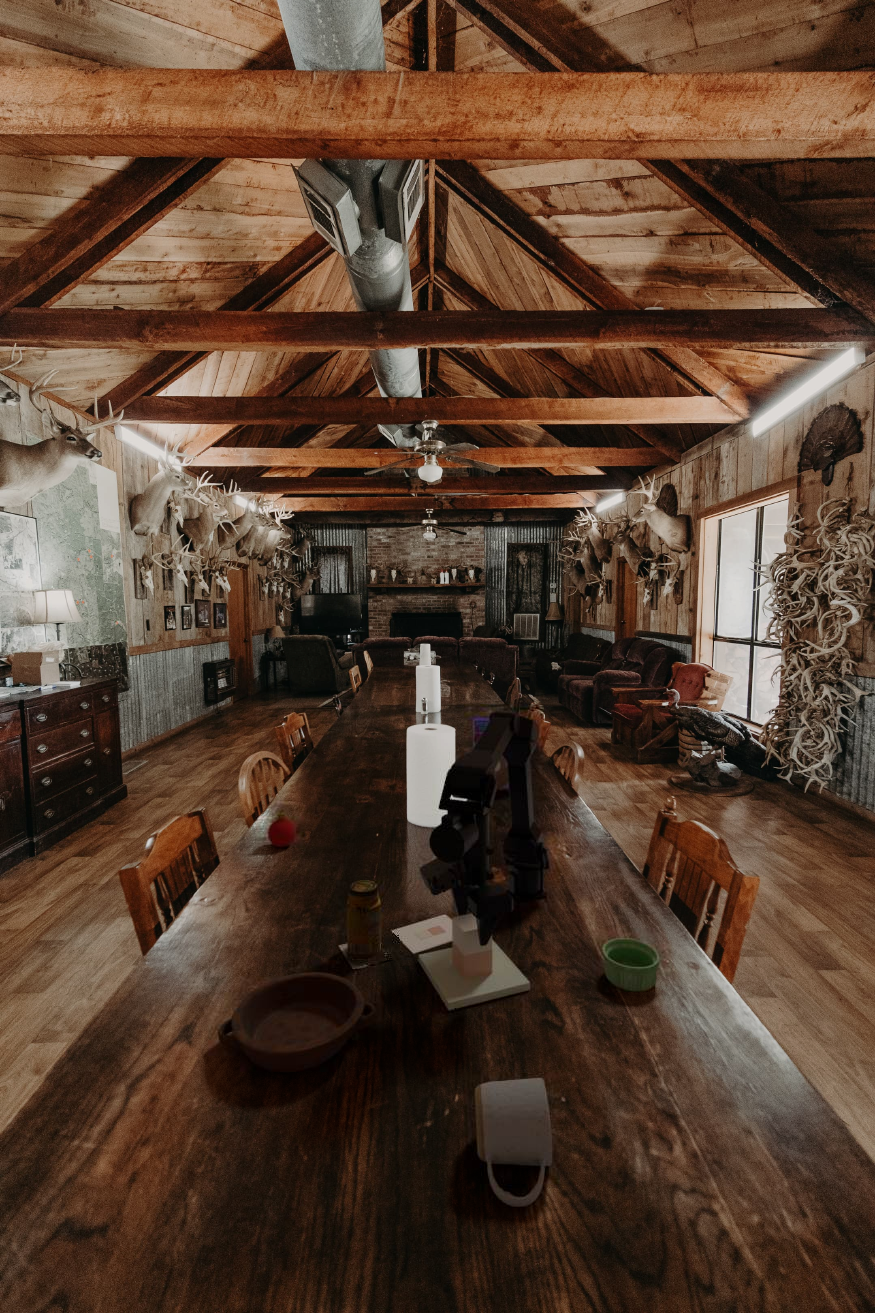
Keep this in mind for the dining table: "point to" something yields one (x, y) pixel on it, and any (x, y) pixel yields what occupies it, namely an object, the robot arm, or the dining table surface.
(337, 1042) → the dish
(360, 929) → the condiment
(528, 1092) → the ceramic mug
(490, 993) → the baseplate
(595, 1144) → the dining table surface
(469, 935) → the cream brick
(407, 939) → the page
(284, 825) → the christmas ornament
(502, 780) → the cereal box
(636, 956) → the ramekin
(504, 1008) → the dining table surface
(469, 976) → the terracotta brick
